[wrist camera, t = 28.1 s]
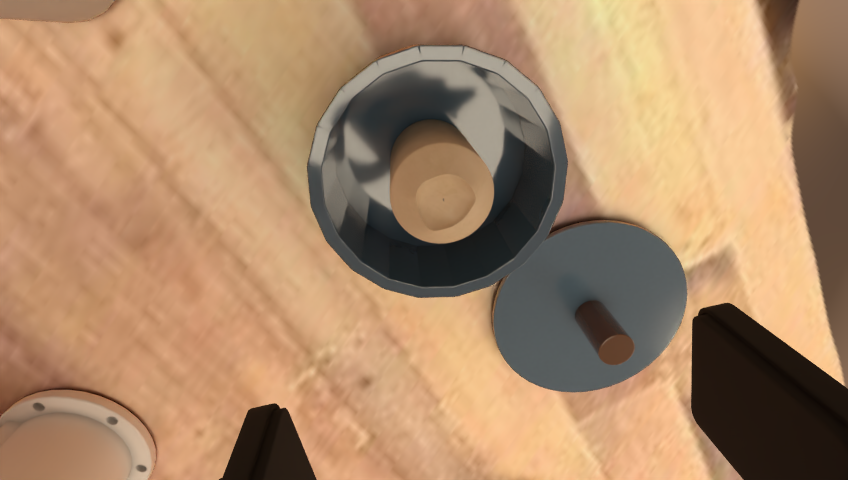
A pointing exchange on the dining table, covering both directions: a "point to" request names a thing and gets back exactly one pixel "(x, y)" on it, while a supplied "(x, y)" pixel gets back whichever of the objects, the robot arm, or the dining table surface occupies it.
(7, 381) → the dining table surface
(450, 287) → the bowl
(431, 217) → the candle
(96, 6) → the can
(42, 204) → the dining table surface
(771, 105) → the dining table surface
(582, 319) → the lid
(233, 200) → the dining table surface
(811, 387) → the robot arm
